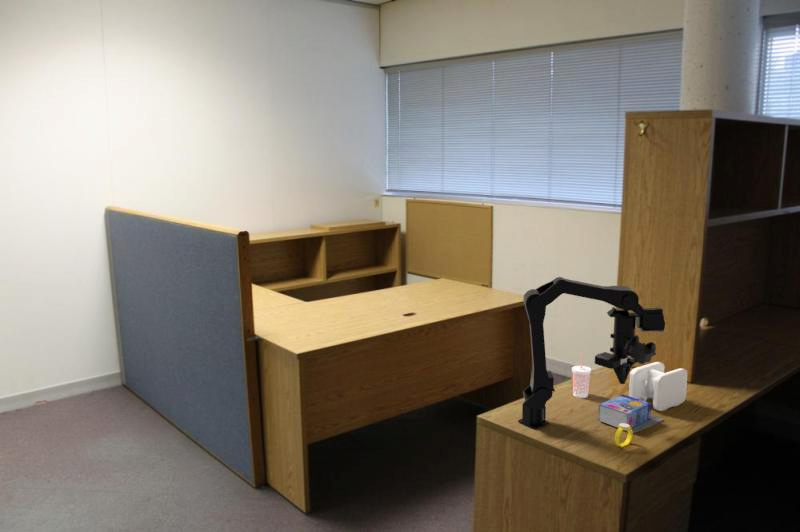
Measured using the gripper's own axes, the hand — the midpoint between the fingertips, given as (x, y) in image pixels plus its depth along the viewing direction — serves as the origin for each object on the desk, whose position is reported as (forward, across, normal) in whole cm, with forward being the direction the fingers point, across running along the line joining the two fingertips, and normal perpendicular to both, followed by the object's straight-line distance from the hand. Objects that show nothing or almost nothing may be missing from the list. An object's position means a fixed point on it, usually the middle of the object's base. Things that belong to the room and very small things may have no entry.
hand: (622, 383), depth 192 cm
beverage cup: (+13, +9, +22) cm, 27 cm away
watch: (+13, -10, -9) cm, 19 cm away
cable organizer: (+13, +22, +3) cm, 26 cm away
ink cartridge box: (+9, -4, 0) cm, 10 cm away
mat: (+12, +5, 0) cm, 13 cm away
